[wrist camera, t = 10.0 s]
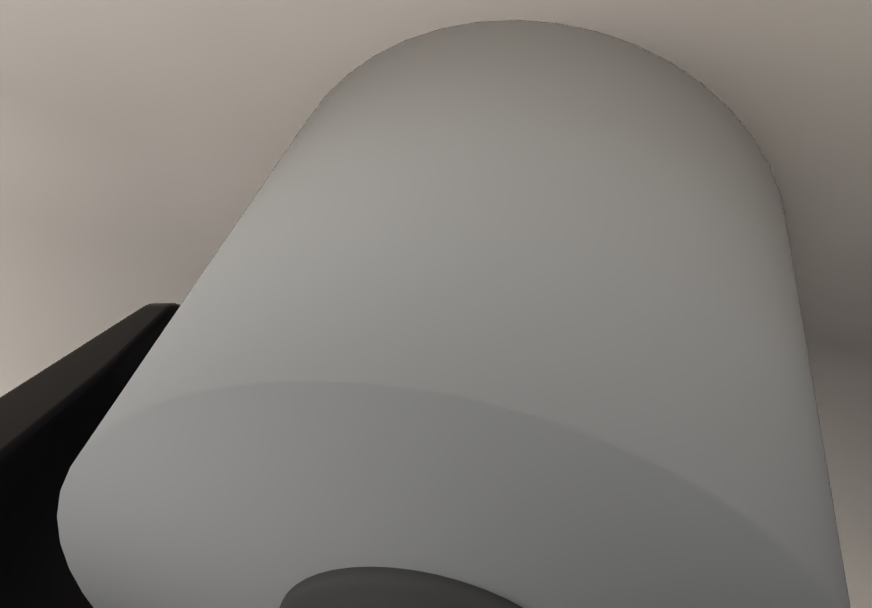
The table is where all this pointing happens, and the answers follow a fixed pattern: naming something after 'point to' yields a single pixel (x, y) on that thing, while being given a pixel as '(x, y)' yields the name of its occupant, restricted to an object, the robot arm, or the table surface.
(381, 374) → the gray short cylinder
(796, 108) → the table surface
